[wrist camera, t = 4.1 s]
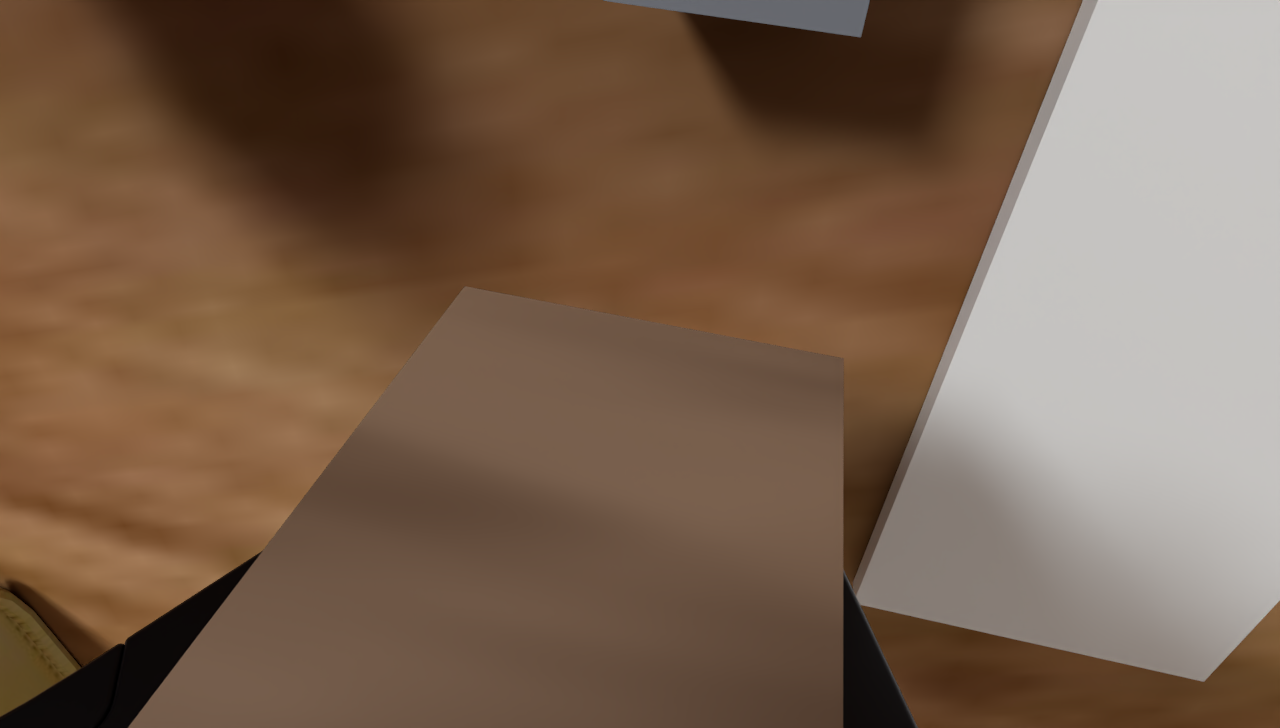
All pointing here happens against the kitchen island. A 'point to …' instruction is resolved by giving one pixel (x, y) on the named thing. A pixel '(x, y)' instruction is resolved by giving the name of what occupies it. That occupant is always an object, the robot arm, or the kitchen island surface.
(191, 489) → the kitchen island surface
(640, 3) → the charcoal block
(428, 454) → the walnut block
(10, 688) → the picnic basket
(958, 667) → the kitchen island surface
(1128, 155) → the cream tile
